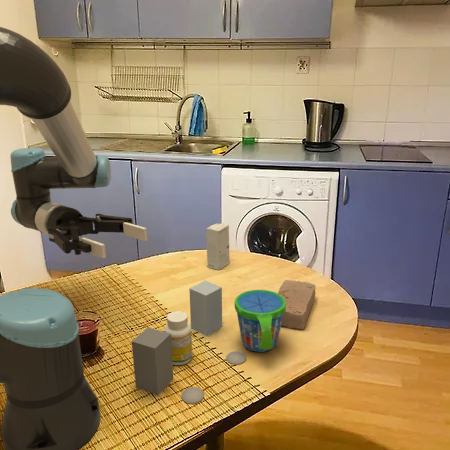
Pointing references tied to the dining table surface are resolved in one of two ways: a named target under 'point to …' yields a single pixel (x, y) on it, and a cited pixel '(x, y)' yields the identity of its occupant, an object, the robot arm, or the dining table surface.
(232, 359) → the coaster right
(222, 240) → the skincare box
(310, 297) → the brick
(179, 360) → the supplement bottle
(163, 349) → the post charcoal
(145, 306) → the dining table surface
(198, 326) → the light grey rectangular block
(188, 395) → the coaster left
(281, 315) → the snack cup
